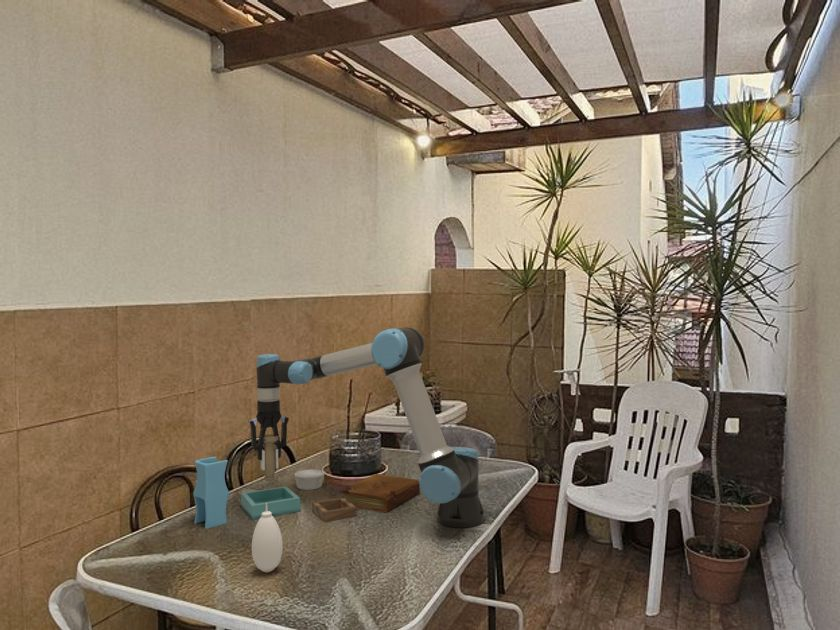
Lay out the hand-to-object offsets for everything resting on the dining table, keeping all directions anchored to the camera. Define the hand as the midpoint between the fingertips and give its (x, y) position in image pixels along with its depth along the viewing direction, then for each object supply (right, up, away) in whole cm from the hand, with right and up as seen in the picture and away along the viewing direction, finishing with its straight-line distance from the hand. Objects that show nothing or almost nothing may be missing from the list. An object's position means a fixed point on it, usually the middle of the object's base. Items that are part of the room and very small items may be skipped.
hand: (269, 468), depth 212 cm
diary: (+37, -14, +9) cm, 41 cm away
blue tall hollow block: (-15, -15, -13) cm, 25 cm away
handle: (0, -4, 0) cm, 4 cm away
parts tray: (0, -14, 0) cm, 14 cm away
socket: (+23, -14, -6) cm, 27 cm away
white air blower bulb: (+11, -15, -50) cm, 53 cm away
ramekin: (+9, -14, +26) cm, 30 cm away
